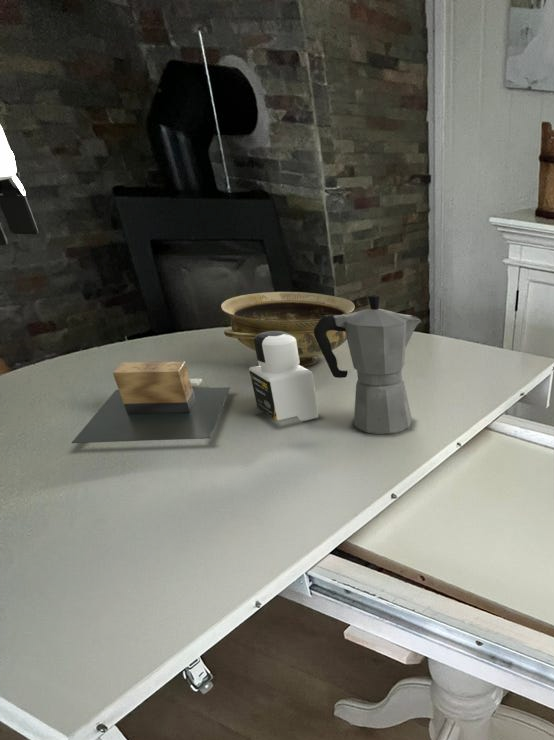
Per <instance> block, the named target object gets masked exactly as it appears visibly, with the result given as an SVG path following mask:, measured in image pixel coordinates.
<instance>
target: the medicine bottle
mask: <svg viewBox="0 0 554 740" xmlns="http://www.w3.org/2000/svg"><path fill="white" fill-rule="evenodd" d="M254 345H255V350H256V351H255V350H254V351H255V355H256V359H257V363H258V364H257V365H255V366H250V367H249V368H248V371H249V376H250V379H251V385H252V389H253V395H254V399H255V404H256V405H255V406H256V408H257V409H259V410H260V411H262V412H263V413H264V414H265V415H267V416H269V417H270V418H272V419H273V420H275V421H281V420H285V419H289V418H294V417H297V418H298V419H299V421H300V422H306V421H310V420H315V419H318V418H319V409H318V404H317V403H318V402H317V396H316V390H315V382H314V376H313V372H312V371H311V370H310V369H308V368H305V366H300V365H298V364H299V363H300V361H299V354H298V348H297V342H296V338H295V337H294V336H293V335H292V334H289V333H287V332H282V331H269V332H263V333H261V334H259V335H257V336H256V337H255V338H254Z"/></svg>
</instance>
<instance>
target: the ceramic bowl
mask: <svg viewBox="0 0 554 740" xmlns="http://www.w3.org/2000/svg"><path fill="white" fill-rule="evenodd" d="M220 308H221V310H222V311H223V313H224V314H226V315H227V316H229V317H230V325H231V326H230V327H231V329H225V330H224V331H223V334H224V335H225V337H228V338H231V339H232V338H234V339H237V340H238V341H239V342H240V343H241V344H242V345H244V346H245V347H247V348H249V349H251V350H253V351H255V352H256V350H255V345H254V338H255V337H256V336H257V335H259V334H261V333H263V332H269V331H282V332H287V333H289V334H292V335H293V336H294V337H295V338H296V342H297V348H298V354H299V361H300V363H299V364H298V365H300V366H302V367H306V366H311V365H314V364H316V363H317V362H318V357H317V356H320V355H323V353H322V351H321V349H320V347H319V345H318V343H317V341H316V339H315V336H314V328H315V326H316V325H317V323H318V322H319V320H320V319H321V317H322V316H324V315H347V314H350V313H354V312H355V309H356V306H355V304H354V302H353V301H351V300H349V299H346V298H343V297H340V296H334V295H327V294H322V293H314V292H304V291H303V292H301V291H272V292H271V291H269V292H256V293H249V294H248V293H247V294H241V295H238V296H233V297H230V298H228V299H226V300H224V301H223V302H222V303H221V305H220ZM326 336H327V337H328V339H329V341H330V345H331V349H332V351H334V350H335V349H337V348H339V347H340V346H342V345H343V344H344V343H345V342H347V337H346V333H345V332H344V331H335V330H328V331H327V333H326Z"/></svg>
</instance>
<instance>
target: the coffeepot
mask: <svg viewBox="0 0 554 740" xmlns="http://www.w3.org/2000/svg"><path fill="white" fill-rule="evenodd" d="M380 298H381V296H380V295H379V294H377V293H371V294H369V295H368V296H367V299H368V303H369V306H370V308H366V309H363V310H359V311H353V312H352V313H350V314H347V315H324V316H322V317H321V319H320V320H319V322H318V323H317V325H316V326H315V328H314V336H315V339H316V341H317V343H318V345H319V347H320V349H321V351H322V353H323V354H322V356H323V358H324V360H325V362H326V363H327V364H326V365H327V366H328V368H329V370H330V372H331V375H332V376H333V377H334V378H338V379H343V378H347V377H348V372H349V371H348V370H343V369H340V368H339V366H338V359H337V357H336V356H335V354H334V352H333V350H332V349H331V345H330V341H329V339H328V337H327V336H326V333H327V331H328V330H335V331H344V332H345V333H346V337H347V340H346V342H347V345H348V349H349V353H350V357H351V358H350V359H351V362H352V367H353V369H354V370H356V374H357V380H356V383H355V399H354V416H353V426H355V428H357V429H358V430H360V431H362V432H364V433H367V434H373V435H392V434H397V433H401V432H404V431H406V430H407V429H409V428H410V426H411V423H412V419H413V418H412V414H411V409H410V404H409V398H408V394H407V390H406V385H405V384H406V383H405V380H404V379H403V369H404V366H405V359H406V358H405V357H406V349H407V346H408V343H409V342H410V340H411V338H412V335H413V333H414V331H415V330H416V328H417V326H418V325H419V324H421V323H422V320H421V319H420V318H419V317H417V316H413V315H411V314H404V313H399V312H394V311H390V310H387V309H383V308H380V300H381V299H380Z"/></svg>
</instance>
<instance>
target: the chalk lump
mask: <svg viewBox="0 0 554 740" xmlns="http://www.w3.org/2000/svg"><path fill="white" fill-rule="evenodd" d="M189 378H190V377H189ZM190 382H191V386H192V387H193V386H194V387H195V386H196V387H198V386H200V384H201V383H203V379H202V378H192V377H191V378H190Z"/></svg>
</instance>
